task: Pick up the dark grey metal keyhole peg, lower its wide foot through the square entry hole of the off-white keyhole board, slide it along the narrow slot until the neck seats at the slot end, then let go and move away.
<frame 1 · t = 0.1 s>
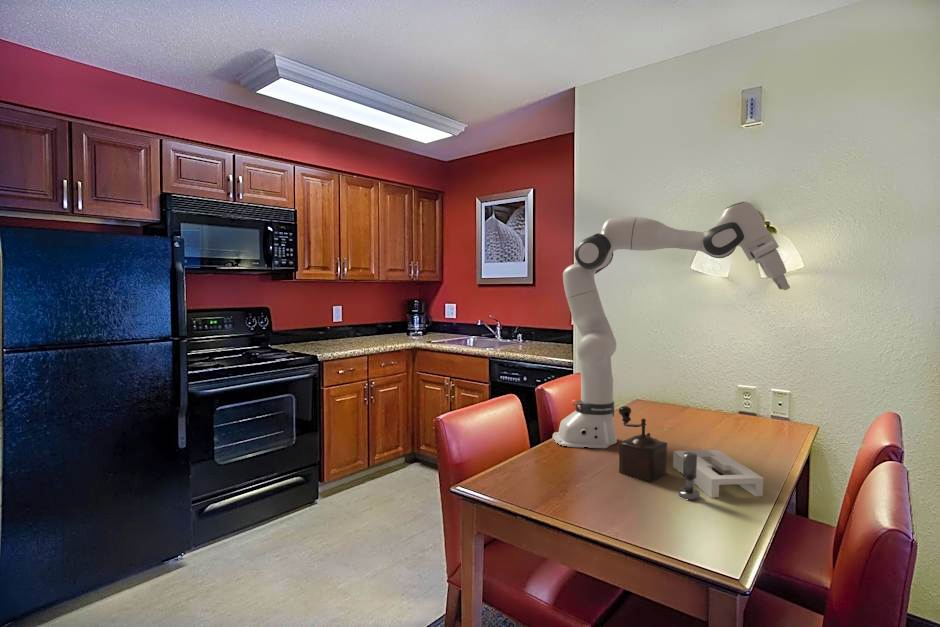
hand: (785, 289, 154), 54 cm above the table, tool tilted 30°, fingers open, 8 cm apart
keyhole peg: (689, 496, 134), on the table
keyhole board: (714, 480, 145), on the table
manual coffee grinder: (635, 471, 153), on the table
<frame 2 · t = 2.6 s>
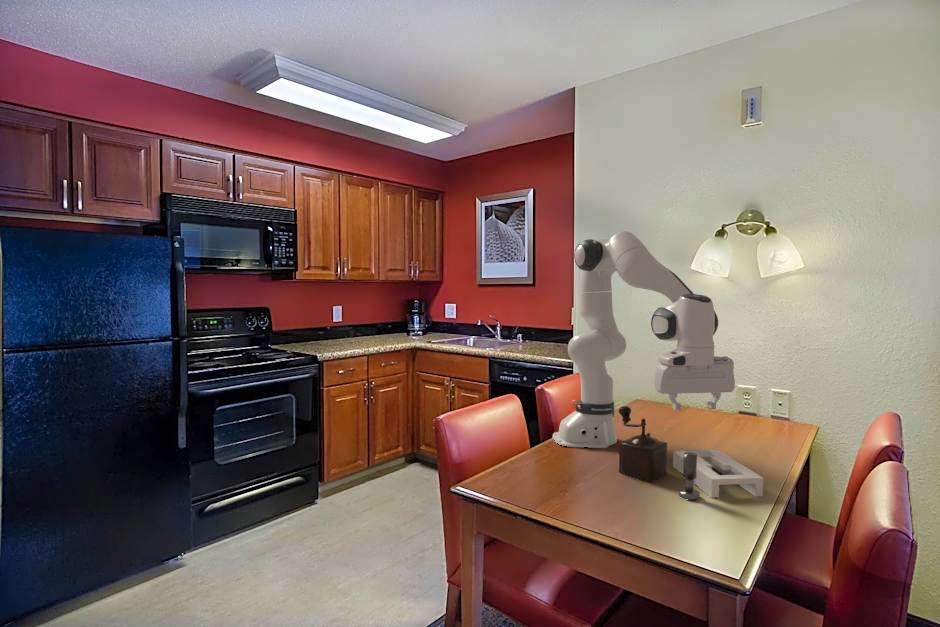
hand: (694, 409, 132), 23 cm above the table, tool pointing down, fingers open, 8 cm apart
nothing on the table moved.
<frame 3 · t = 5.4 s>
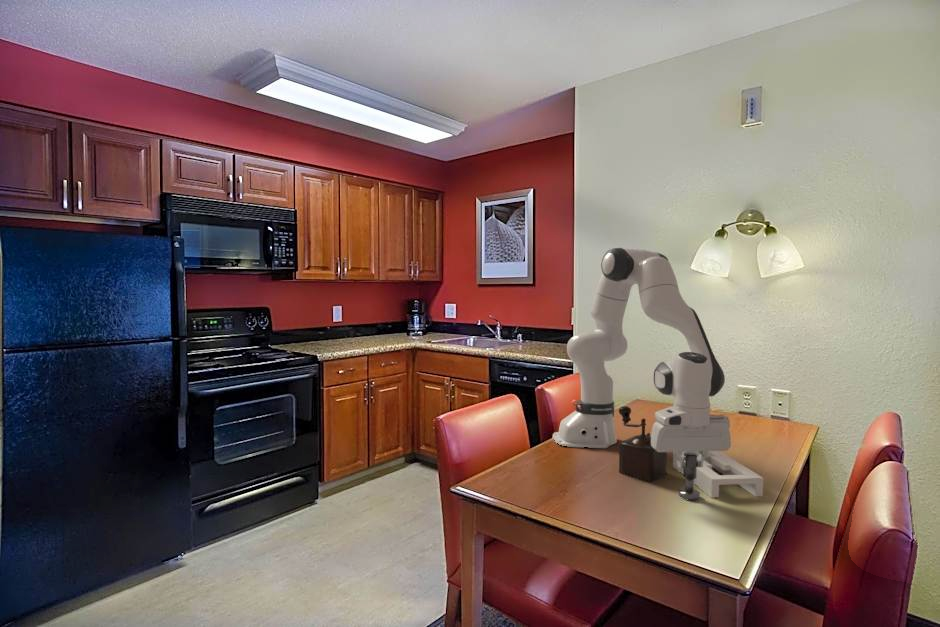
hand: (689, 466, 134), 8 cm above the table, tool pointing down, fingers closed on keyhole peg, 3 cm apart
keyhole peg: (689, 496, 134), on the table, touching gripper
everything else where it was.
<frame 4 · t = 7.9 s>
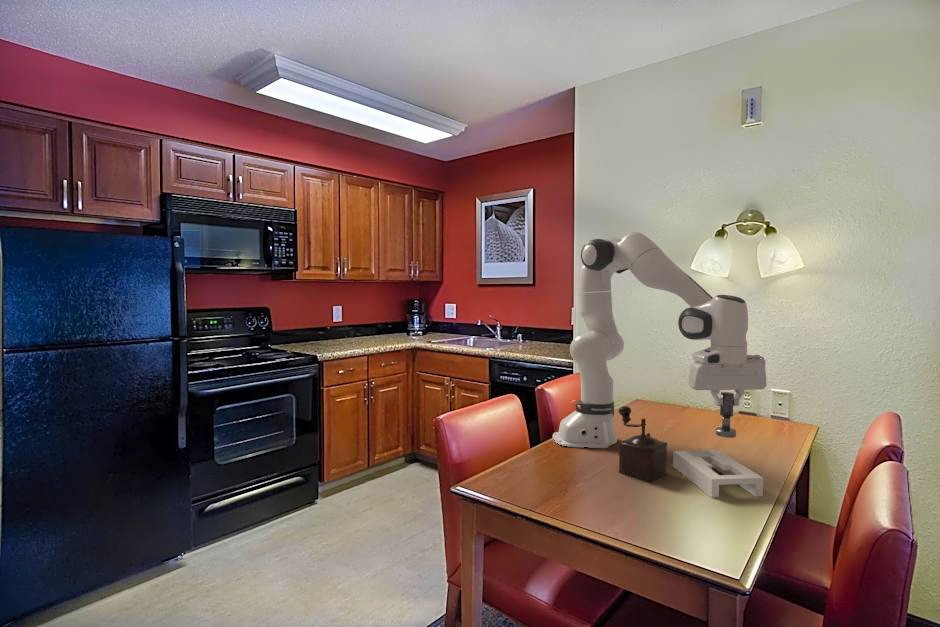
hand: (726, 405, 138), 23 cm above the table, tool pointing down, fingers closed on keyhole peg, 3 cm apart
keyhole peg: (725, 434, 139), point 15 cm above the table, touching gripper
everything else where it was.
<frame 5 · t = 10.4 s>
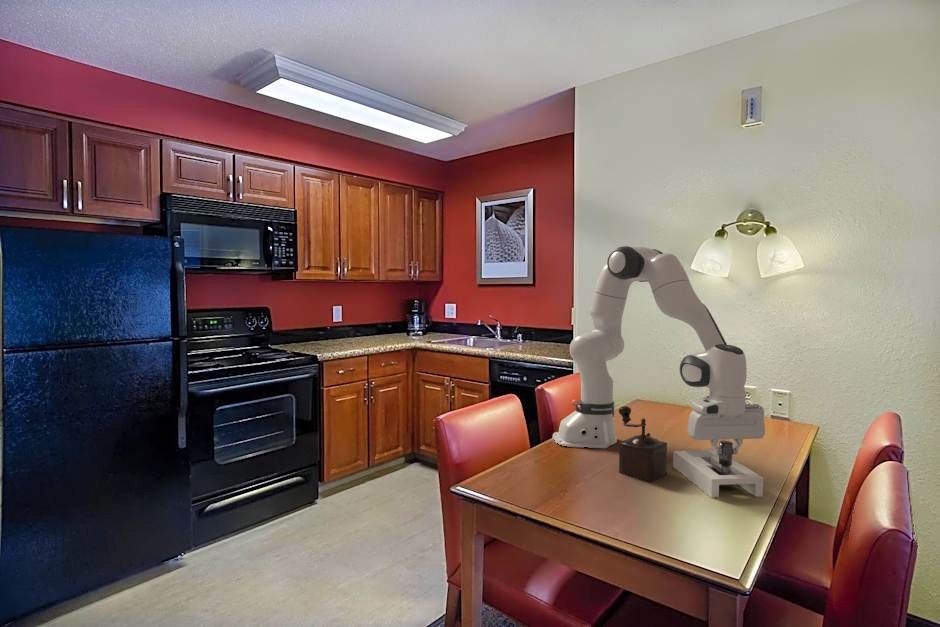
hand: (725, 454, 139), 9 cm above the table, tool pointing down, fingers closed on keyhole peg, 3 cm apart
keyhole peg: (724, 483, 140), point 1 cm above the table, touching gripper
everything else where it was.
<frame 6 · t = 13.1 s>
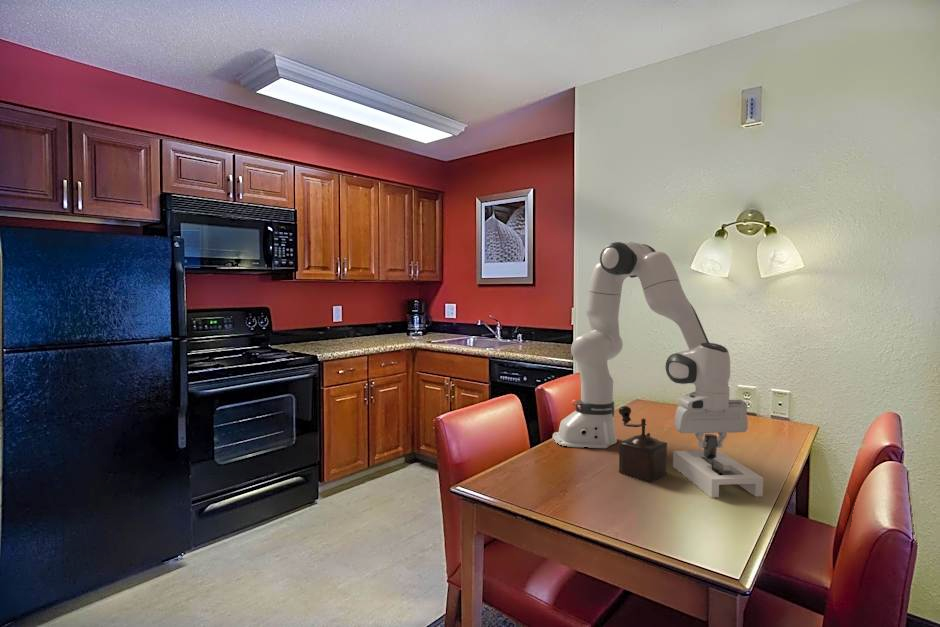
hand: (710, 447, 147), 9 cm above the table, tool pointing down, fingers closed on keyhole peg, 3 cm apart
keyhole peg: (709, 474, 147), point 1 cm above the table, touching gripper
everything else where it was.
when the fingers open (8 cm above the table, at t = 15.5 s): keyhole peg stays where it is, resting on keyhole board.
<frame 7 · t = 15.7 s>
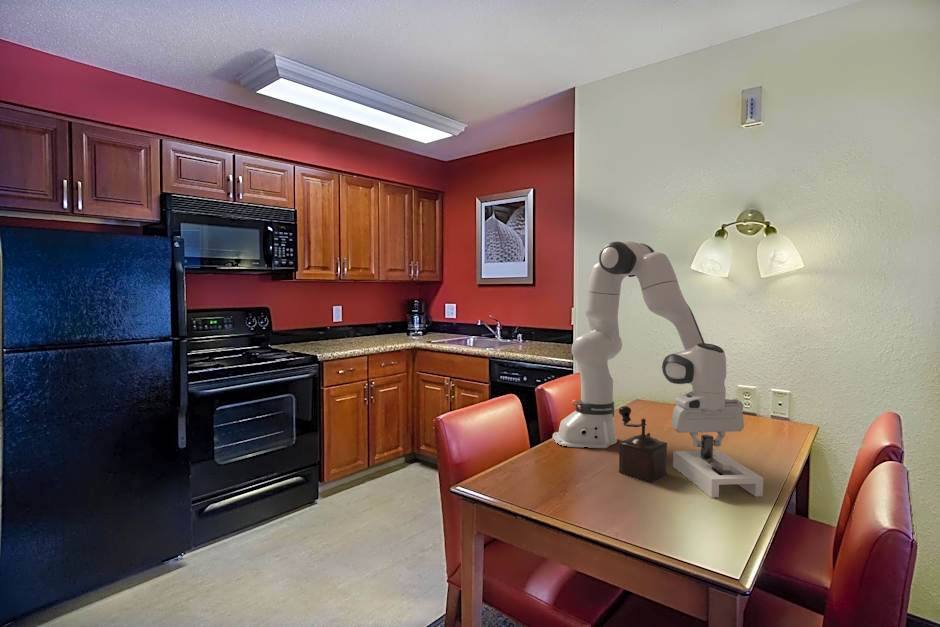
hand: (707, 446, 149), 8 cm above the table, tool pointing down, fingers open, 5 cm apart
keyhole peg: (706, 474, 149), resting on keyhole board
everything else where it was.
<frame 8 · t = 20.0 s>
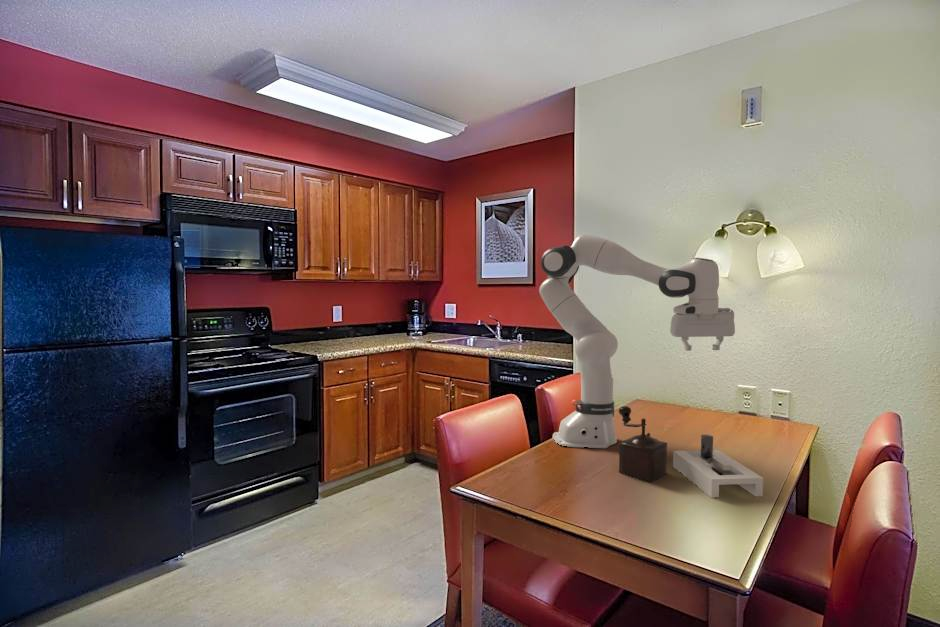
hand: (702, 350, 166), 34 cm above the table, tool pointing down, fingers open, 8 cm apart
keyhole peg: (706, 474, 149), on the table
everything else where it was.
at the end: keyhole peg 0.1 cm from the target spot on the keyhole board, point 0.0 cm above the keyhole board's base; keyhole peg tilted 0°; the gripper is holding nothing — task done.
